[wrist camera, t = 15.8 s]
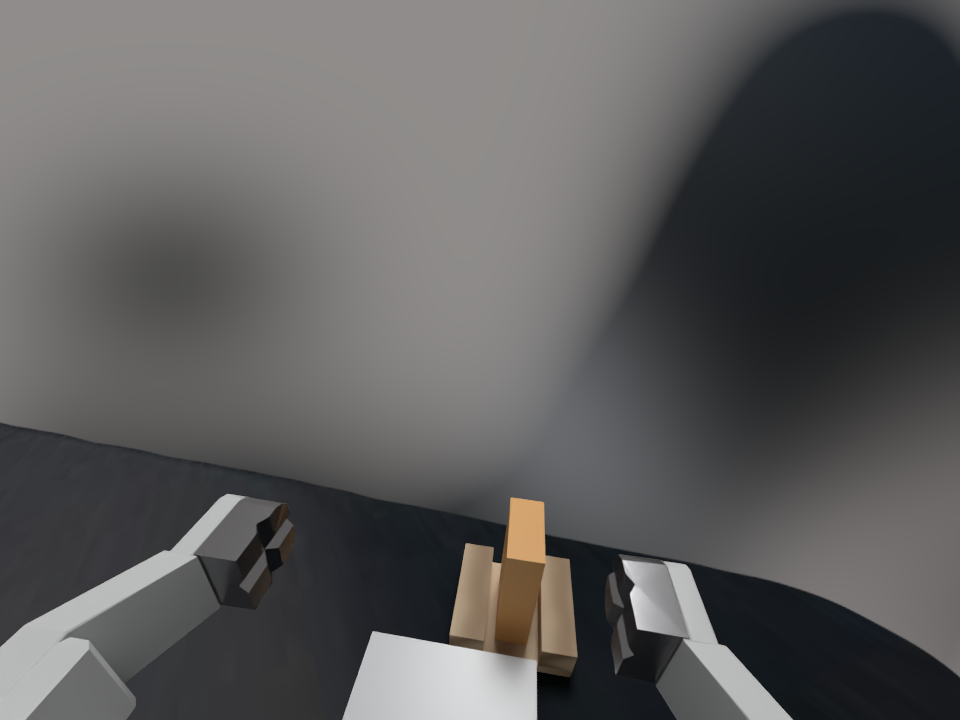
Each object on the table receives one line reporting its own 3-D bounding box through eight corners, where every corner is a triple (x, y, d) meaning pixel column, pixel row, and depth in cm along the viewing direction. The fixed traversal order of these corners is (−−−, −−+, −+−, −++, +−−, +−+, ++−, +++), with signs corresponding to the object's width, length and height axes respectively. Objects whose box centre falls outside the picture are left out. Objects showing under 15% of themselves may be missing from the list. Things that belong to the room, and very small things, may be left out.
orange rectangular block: (494, 639, 35) (506, 557, 30) (499, 577, 41) (510, 497, 35) (526, 645, 35) (545, 563, 29) (527, 581, 40) (543, 502, 35)
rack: (448, 655, 35) (449, 634, 33) (464, 563, 43) (466, 543, 41) (570, 677, 34) (577, 657, 32) (563, 579, 42) (569, 559, 40)
